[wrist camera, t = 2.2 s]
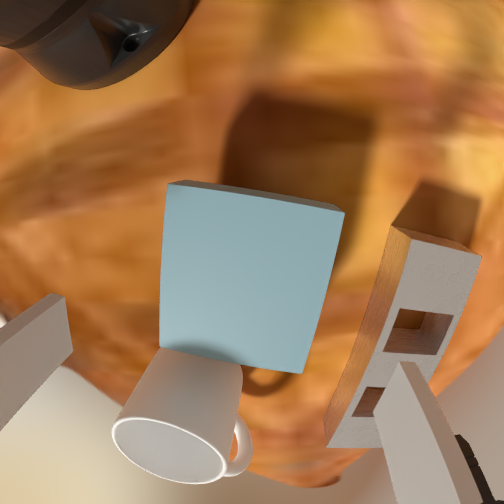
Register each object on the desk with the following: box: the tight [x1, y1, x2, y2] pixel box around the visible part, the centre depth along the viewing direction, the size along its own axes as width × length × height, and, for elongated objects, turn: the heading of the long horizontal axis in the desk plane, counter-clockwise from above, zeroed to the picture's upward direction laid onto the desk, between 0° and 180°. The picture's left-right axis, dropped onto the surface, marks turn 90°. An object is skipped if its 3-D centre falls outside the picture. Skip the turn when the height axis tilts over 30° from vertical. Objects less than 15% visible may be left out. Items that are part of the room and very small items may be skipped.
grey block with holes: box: [323, 225, 482, 448], centre depth 22 cm, size 20×6×4 cm, turn 171°
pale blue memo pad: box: [160, 180, 345, 374], centre depth 19 cm, size 10×9×6 cm
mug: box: [112, 347, 253, 484], centre depth 21 cm, size 12×8×10 cm
